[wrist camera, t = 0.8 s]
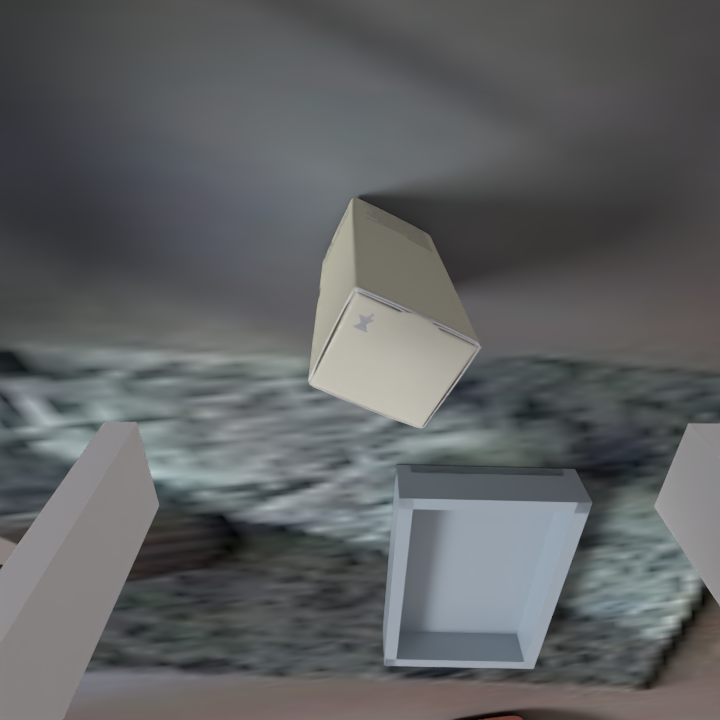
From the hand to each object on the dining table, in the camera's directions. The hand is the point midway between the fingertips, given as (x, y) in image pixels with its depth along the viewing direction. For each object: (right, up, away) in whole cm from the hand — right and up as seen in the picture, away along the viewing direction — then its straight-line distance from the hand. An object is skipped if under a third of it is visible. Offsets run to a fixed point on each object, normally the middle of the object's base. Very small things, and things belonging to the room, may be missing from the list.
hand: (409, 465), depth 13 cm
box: (0, +9, +17) cm, 19 cm away
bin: (+8, -14, +30) cm, 33 cm away
